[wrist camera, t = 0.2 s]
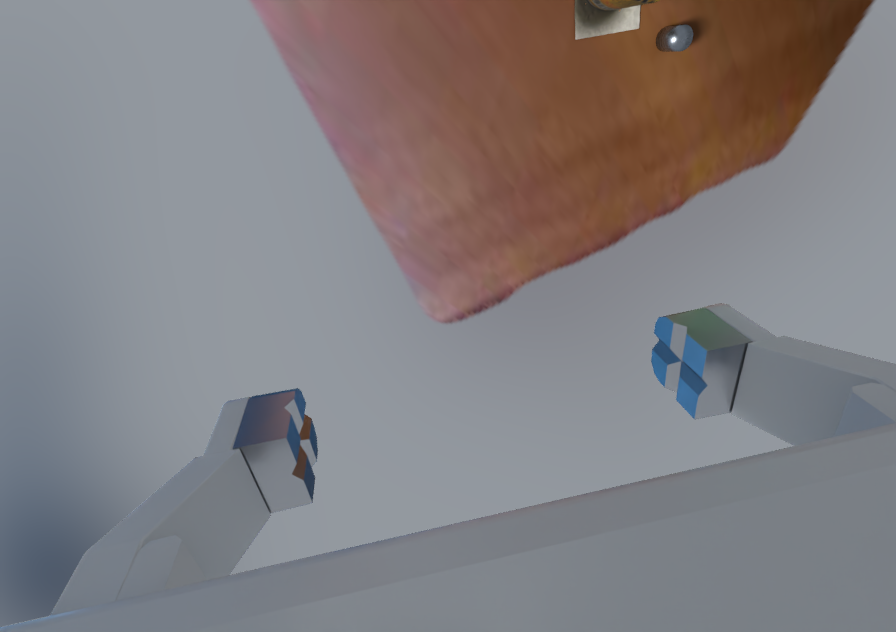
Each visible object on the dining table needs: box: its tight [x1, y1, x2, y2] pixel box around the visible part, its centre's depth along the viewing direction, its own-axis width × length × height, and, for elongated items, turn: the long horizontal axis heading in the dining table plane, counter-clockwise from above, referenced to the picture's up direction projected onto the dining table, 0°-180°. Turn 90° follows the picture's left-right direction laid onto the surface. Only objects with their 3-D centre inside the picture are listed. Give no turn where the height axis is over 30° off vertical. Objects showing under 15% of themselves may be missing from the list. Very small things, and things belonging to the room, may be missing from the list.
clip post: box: [656, 25, 693, 52], centre depth 51 cm, size 2×2×3 cm
